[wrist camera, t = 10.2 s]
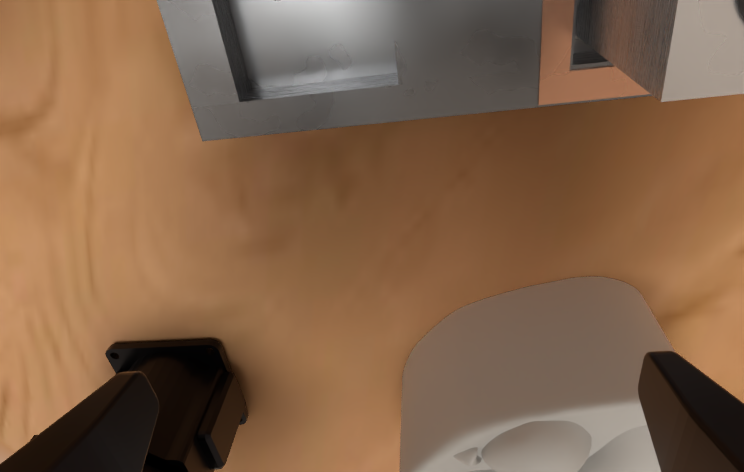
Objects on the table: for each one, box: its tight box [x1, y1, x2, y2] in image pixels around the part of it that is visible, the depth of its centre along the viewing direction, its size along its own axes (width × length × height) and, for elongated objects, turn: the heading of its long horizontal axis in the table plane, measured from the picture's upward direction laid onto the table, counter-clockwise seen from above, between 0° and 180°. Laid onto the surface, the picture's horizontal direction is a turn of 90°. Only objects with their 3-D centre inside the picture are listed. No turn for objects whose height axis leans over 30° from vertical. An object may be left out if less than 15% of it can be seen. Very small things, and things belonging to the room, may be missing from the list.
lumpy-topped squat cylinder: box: [400, 276, 676, 472], centre depth 23 cm, size 10×13×9 cm
